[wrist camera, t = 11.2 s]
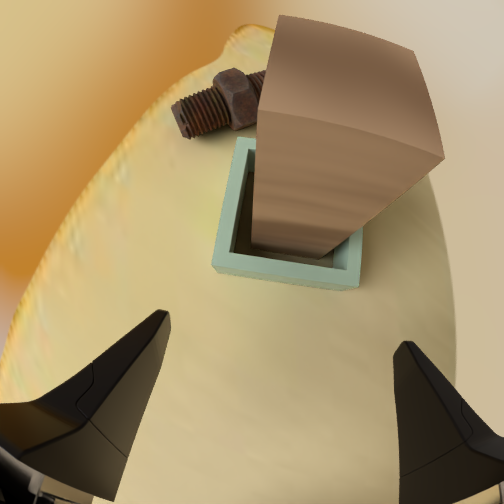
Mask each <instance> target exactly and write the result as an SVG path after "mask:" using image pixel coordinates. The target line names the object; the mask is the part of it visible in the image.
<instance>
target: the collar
mask: <svg viewBox="0 0 504 504" xmlns="http://www.w3.org/2000/svg"><path fill="white" fill-rule="evenodd" d="M255 153H256V139H254V138H246V137H237V141H236V146H235V150H234V155H233V159H232V164H231V168H230V173H229V177H228V182H227V187H226V192H225V197H224V201H223V206H222V211H221V216H220V221H219V226H218V232H217V237H216V242H215V247H214V253H213V258H212V264H211V265H212V266H213V268H214V269H215V270H216V271H217V273H223V274H229V275H235V276H242V277H248V278H254V279H261V280H267V281H274V282H281V283H287V284H294V285H301V286H308V287H315V288H323V289H330V290H337V291H344V290H348V289H352V288H357V287H359V280H360V269H361V255H362V238H363V226H362V227H361V228H360V229H358V230H357V231H356V232H354V233H353V234H352V235H351V236H349V237H348V238H347V239H345V240H344V241H343V242H341V243H340V244H339V245H337V246H336V247H335V248H334V256H333V266H332V268H327V267H321V266H314V265H307V264H301V263H294V262H288V261H281V260H275V259H269V258H262V257H256V256H249V255H243V254H236V253H234V248H235V243H236V237H237V231H238V225H239V220H240V214H241V209H242V203H243V198H244V192H245V187H246V181H247V176H248V172H255Z"/></svg>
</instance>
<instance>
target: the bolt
mask: <svg viewBox="0 0 504 504" xmlns="http://www.w3.org/2000/svg"><path fill="white" fill-rule="evenodd" d="M265 74H266V70H263V71H261V72H257V73H253V74H249V75H246V76H245V74H244V73H243V72H241V71H240V70H238V69H236V68H232V69H228V70H225V71H222V72H219V73H218V74H217V75H216V76H215V77H214V79H213V87H212V86H211V88H210V89H209V88H207V89H206V90H202V92H199V91H198V93H197V94H195V93H193V96H191V95H189V97H188V98H187V97H184V100H183V99H180V101H176V103H175V104H174V105H172V107H171V110H172V112H173V114H174V117H175V119H176V122H177V124H178V126H179V129H180V131H181V133H182V136H183V137H185V138H188V139H191V137H193V138H195V136H196V135H197V136H198V137H199V134H200V133H201V134H202V135H203V133H204V132H206V133H207V132H208V130H210V131H212V129H213V128H214V129H216V128H217V126H218V127H221V125H223V126H225V124H226V123H227V124H228V125H229V126H230V128H231V129H233V130H235V131H237V130H239V129H242V128H245V127H248V126H250V125H253V124H255V123H256V122H257V113H258V106H259V101H260V96H261V92H262V87H263V83H264V78H265Z"/></svg>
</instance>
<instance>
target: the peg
mask: <svg viewBox="0 0 504 504" xmlns="http://www.w3.org/2000/svg"><path fill="white" fill-rule="evenodd" d="M444 159H445V156H444V151H443V146H442V142H441V137H440V133H439V129H438V124H437V121H436V117H435V113H434V109H433V106H432V102H431V99H430V96H429V93H428V89H427V86H426V83H425V81H424V78H423V75H422V72H421V69H420V67H419V64H418V62H417V59H416V56H415V54H414V51H412V50H409V49H407V48H404V47H402V46H399V45H397V44H394V43H392V42H389V41H386V40H383V39H381V38H377V37H375V36H372V35H368V34H365V33H362V32H359V31H355V30H352V29H348V28H344V27H340V26H337V25H333V24H328V23H324V22H319V21H314V20H309V19H303V18H297V17H292V16H285V15H279V18H278V21H277V26H276V30H275V34H274V38H273V43H272V47H271V51H270V56H269V60H268V65H267V69H266V74H265V78H264V83H263V87H262V92H261V96H260V101H259V106H258V113H257V133H256V153H255V173H254V194H253V214H252V234H251V249H256V250H262V251H268V252H274V253H280V254H287V255H293V256H299V257H305V258H312V259H318V260H319V259H320V258H321V257H323V256H324V255H325V254H327V253H328V252H329V251H331V250H332V249H333V248H335V247H336V246H337V245H339V244H340V243H341V242H343V241H344V240H345V239H347V238H348V237H349V236H351V235H352V234H353V233H354V232H356V231H357V230H358V229H360V228H361V227H362V226H363V225H365V224H366V223H367V222H369V221H370V220H371V219H372V218H374V217H375V216H376V215H377V214H379V213H380V212H381V211H383V210H384V209H385V208H386V207H388V206H389V205H390V204H391V203H392V202H394V201H395V200H396V199H397V198H399V197H400V196H401V195H402V194H404V193H405V192H406V191H407V190H408V189H410V188H411V187H412V186H413V185H414V184H416V183H417V182H418V181H419V180H420V179H422V178H423V177H424V176H425V175H426V174H428V173H429V172H430V171H431V170H432V169H433V168H434V167H436V166H437V165H438V164H439V163H440V162H441V161H443V160H444Z"/></svg>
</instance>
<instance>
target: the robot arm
mask: <svg viewBox="0 0 504 504" xmlns="http://www.w3.org/2000/svg"><path fill="white" fill-rule="evenodd" d="M170 331H171V322H170V314H169V312H168V311H166V310H161V309H158V310H156V311H155V312H154V313H152V314H151V315H150V316H149V317H147V318H146V319H145V320H144V321H142V322H141V323H140V324H138V325H137V326H136V327H135V328H133V329H132V330H131V331H130V332H128V333H127V334H126V335H125V336H123V337H122V338H121V339H120V340H118V341H117V342H116V343H115V344H113V345H112V346H111V347H110V348H108V349H107V350H106V351H105V352H103V353H102V354H101V355H100V356H98V357H97V358H96V359H95V360H93V361H92V363H90V364H88V365H87V366H86V367H85V368H83V369H82V370H81V371H79V372H78V373H77V374H76V375H74V376H73V377H71V378H70V379H68V380H67V381H65V382H64V383H62V384H61V385H59V386H58V387H56V388H54V389H53V390H51V391H50V392H48V393H46V394H45V395H43V396H42V397H40V398H38V399H36V400H33V401H30V402H22V403H1V404H0V504H92V501H93V498H94V496H96V497H99V498H102V499H105V500H109V501H112V502H114V500H115V497H116V494H117V490H118V487H119V484H120V481H121V478H122V475H123V472H124V469H125V466H126V463H127V460H128V459H127V458H128V456H129V454H130V451H131V448H132V445H133V442H134V439H135V436H136V433H137V431H138V428H139V425H140V422H141V419H142V417H143V414H144V411H145V409H146V406H147V403H148V400H149V398H150V395H151V392H152V390H153V387H154V385H155V382H156V379H157V377H158V374H159V372H160V369H161V366H162V362H163V358H164V354H165V350H166V347H167V343H168V339H169V335H170ZM393 368H394V394H395V403H396V413H397V425H398V440H399V466H400V479H399V504H504V437H501V436H499V435H497V434H496V433H494V432H493V431H492V429H491V428H490V427H489V426H488V425H487V424H486V423H485V422H484V421H483V420H482V419H481V418H480V417H479V416H478V415H477V414H476V413H475V412H474V410H473V409H472V408H471V407H470V406H469V405H468V404H467V402H466V401H465V400H464V399H463V398H462V397H461V395H460V394H459V393H458V392H457V390H456V389H455V388H454V387H453V386H452V385H451V383H450V382H449V381H448V380H447V379H446V378H445V376H444V375H443V374H442V373H441V372H440V371H439V370H438V368H437V367H436V366H435V365H434V364H433V363H432V362H431V361H430V360H429V358H428V357H427V356H426V355H425V354H424V353H423V352H422V351H421V350H420V348H419V347H418V346H417V345H416V344H415V343H414V342H413V341H403V342H402V343H401V344H400V346H399V347H398V349H397V350H396V351H395V353H394V356H393Z"/></svg>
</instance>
